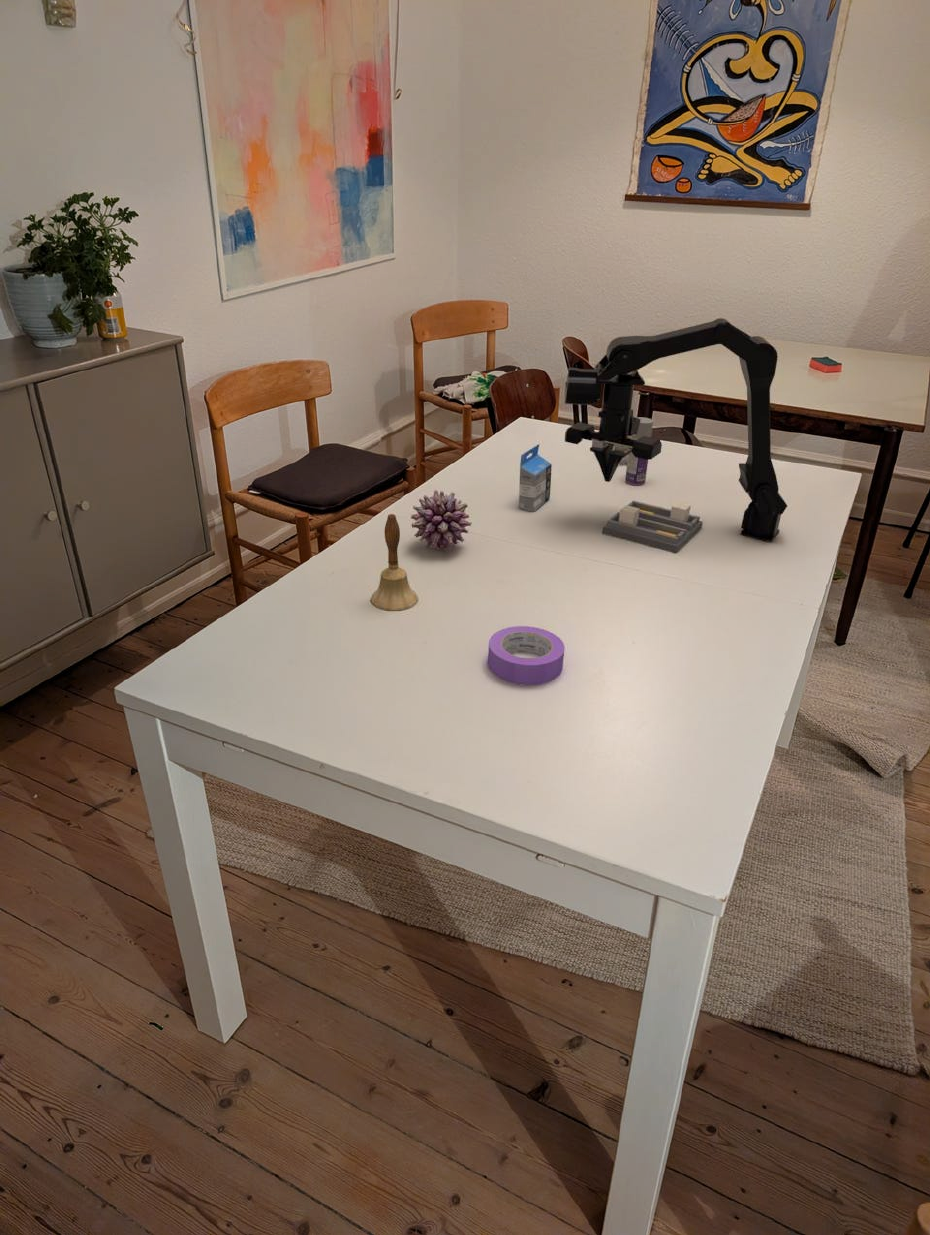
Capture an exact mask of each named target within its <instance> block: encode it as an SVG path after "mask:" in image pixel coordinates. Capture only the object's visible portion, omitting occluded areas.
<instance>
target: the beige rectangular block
mask: <svg viewBox="0 0 930 1235" xmlns="http://www.w3.org/2000/svg"><path fill="white" fill-rule="evenodd" d="M670 510H671V515H670V519H674V520H678V521H682V522H687V521H688V519H689V514H690V513H691V512H690V510H691V505H690V504H686V503H683V502H678V501H676V502H675V503H674V504H673V505H672V506H671V508H670Z"/></svg>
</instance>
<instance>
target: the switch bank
mask: <svg viewBox="0 0 930 1235" xmlns="http://www.w3.org/2000/svg"><path fill="white" fill-rule="evenodd" d="M626 505H627V506H631V507H636V508H640V510H639V517H638V524H637V525H636V526H633V525H629V524H625V523H621V522H619V515H620V511H619V512H617V513H616V514H614V515H613V516H612V517H610V518H609V519H608V520H607V521H606V524H604V525H603V526H602V532H601V533H602V534H603V535H607V536H610V537H614V538H618V539H621V540H625V541H630V542H631V543H632V542H633V543H637V544H640V545H644V546H647V547H650V548H651V547H652V548H655V549H659V550H663V551H667V552H670V553H674V554H677V553H678V552H679V551H680V550H681V549H682V548H683V547H684V546H685V545H686V544H687V543H688V542H689V541H690V540H692V538H693V537H694V536H695V535H697V533H699V531H700V530H701V529H702V527H703V520H700V519H701V517H700V516H699V515H698V516H697V515H694V514H690V513H689V519H688V521H687V522H682V521H678V520H674V519H670V515H671V508H670V509H669V508H665V507H661V506H658V505H653V504H649V503H645V502H640V501H636V500H632V501H631V502H629V503H628V504H626Z"/></svg>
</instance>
